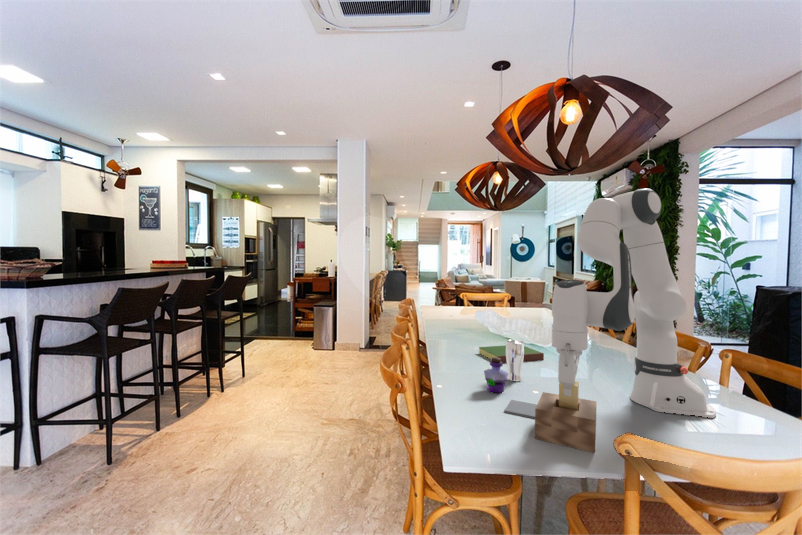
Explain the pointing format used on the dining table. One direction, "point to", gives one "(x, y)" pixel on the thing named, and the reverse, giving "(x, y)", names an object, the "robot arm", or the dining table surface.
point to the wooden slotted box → (566, 423)
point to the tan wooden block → (569, 397)
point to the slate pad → (521, 408)
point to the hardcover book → (501, 353)
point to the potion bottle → (496, 376)
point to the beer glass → (514, 359)
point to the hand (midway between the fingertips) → (568, 391)
